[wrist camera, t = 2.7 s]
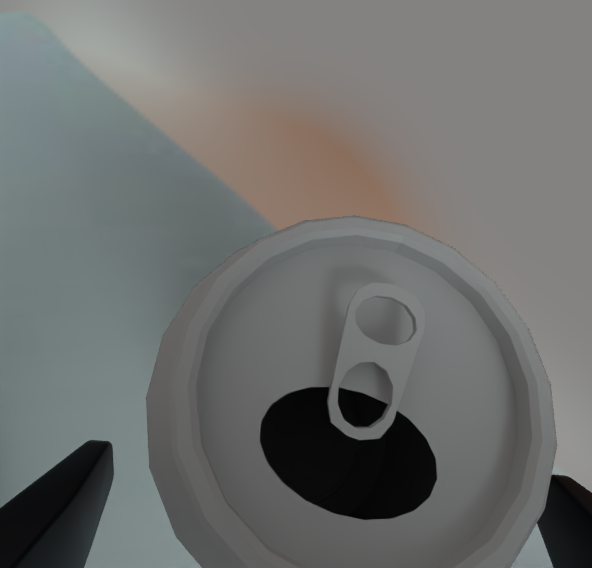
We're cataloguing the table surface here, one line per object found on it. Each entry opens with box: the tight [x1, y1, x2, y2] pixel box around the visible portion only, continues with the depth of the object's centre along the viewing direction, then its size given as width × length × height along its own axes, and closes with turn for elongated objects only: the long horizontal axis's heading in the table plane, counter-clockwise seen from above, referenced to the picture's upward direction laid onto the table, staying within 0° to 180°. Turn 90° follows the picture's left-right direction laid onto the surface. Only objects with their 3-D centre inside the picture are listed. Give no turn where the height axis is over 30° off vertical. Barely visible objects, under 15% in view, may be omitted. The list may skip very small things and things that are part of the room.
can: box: [146, 216, 557, 568], centre depth 12 cm, size 8×8×12 cm
